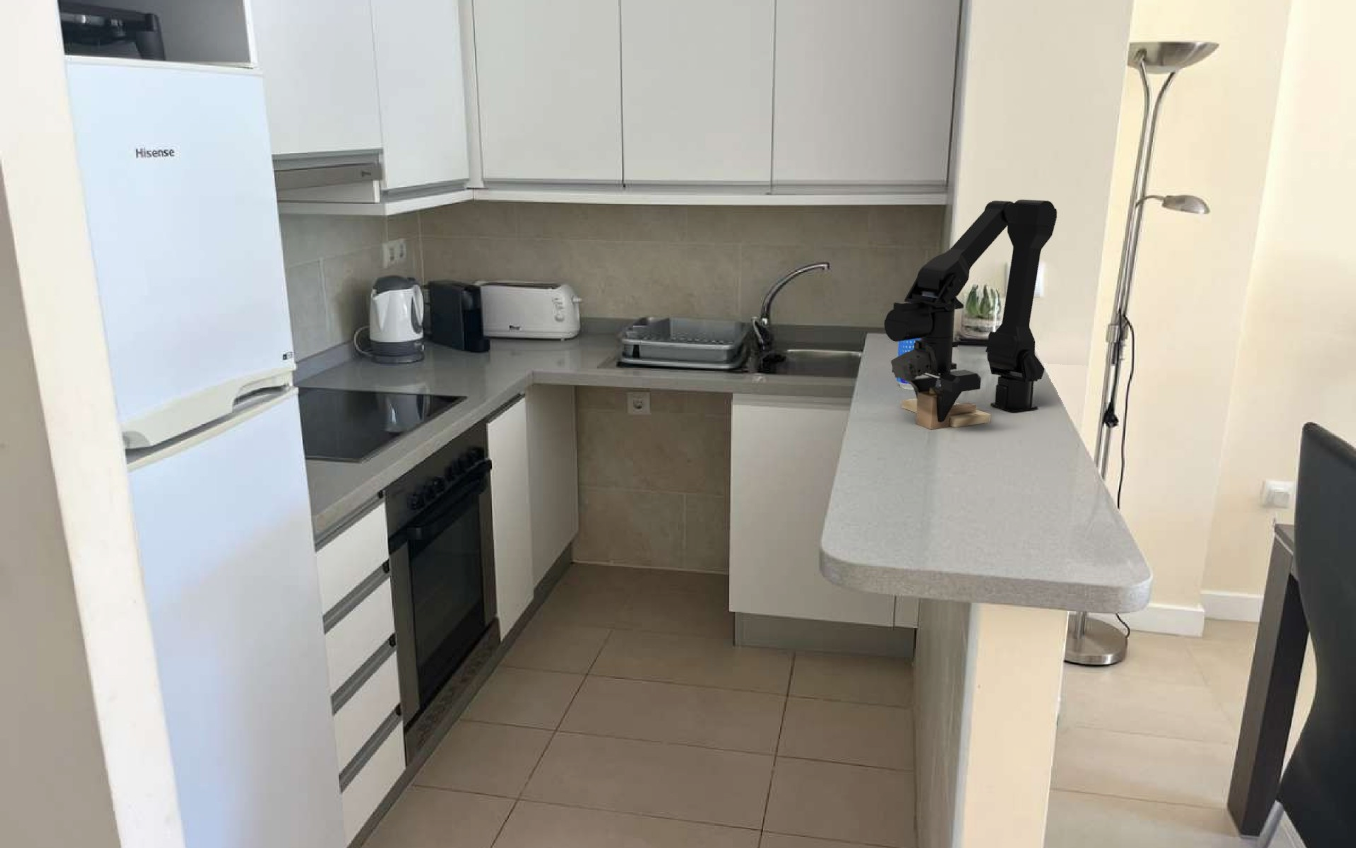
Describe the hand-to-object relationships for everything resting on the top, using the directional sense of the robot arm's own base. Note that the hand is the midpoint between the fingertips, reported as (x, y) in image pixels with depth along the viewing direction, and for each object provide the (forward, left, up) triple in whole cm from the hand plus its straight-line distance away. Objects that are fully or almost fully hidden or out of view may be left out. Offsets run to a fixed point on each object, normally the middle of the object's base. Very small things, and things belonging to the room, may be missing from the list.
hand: (932, 418), depth 184 cm
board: (-7, -5, -1) cm, 8 cm away
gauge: (-3, 0, -1) cm, 4 cm away
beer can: (-16, -26, -2) cm, 30 cm away
